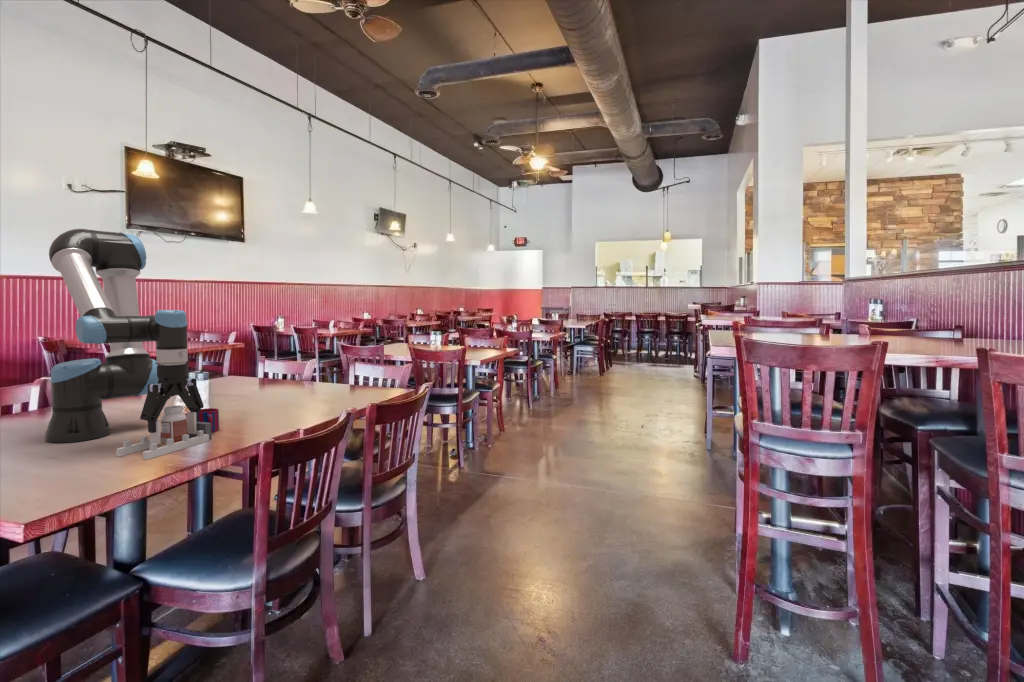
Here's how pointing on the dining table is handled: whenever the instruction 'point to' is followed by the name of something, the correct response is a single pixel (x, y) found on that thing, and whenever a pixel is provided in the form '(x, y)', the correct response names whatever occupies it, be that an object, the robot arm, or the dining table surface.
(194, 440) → the comb channel
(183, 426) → the pill bottle
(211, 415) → the mug
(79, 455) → the dining table surface
